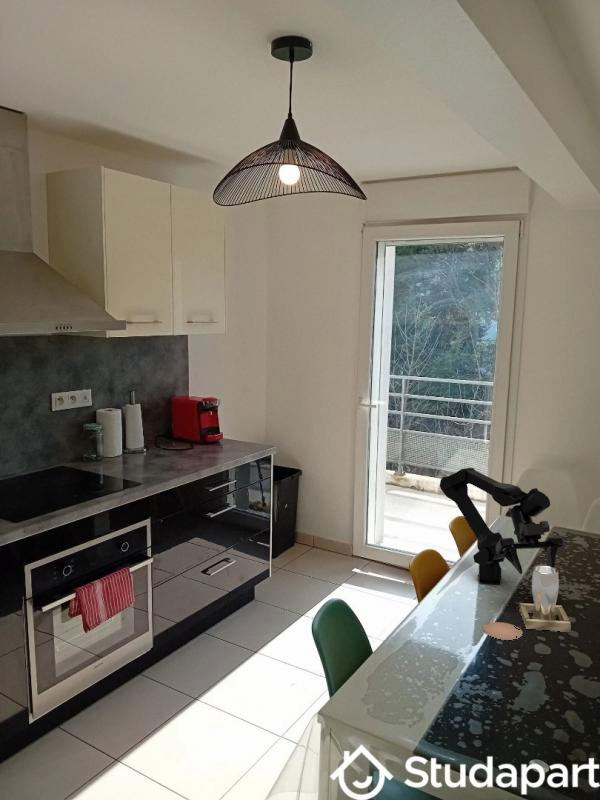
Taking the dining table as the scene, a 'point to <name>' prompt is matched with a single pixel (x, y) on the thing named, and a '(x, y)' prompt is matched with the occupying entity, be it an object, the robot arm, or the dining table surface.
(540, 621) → the pocket frame
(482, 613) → the dining table surface
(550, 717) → the dining table surface
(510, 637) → the mat
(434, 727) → the dining table surface
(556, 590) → the beer glass
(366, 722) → the dining table surface
